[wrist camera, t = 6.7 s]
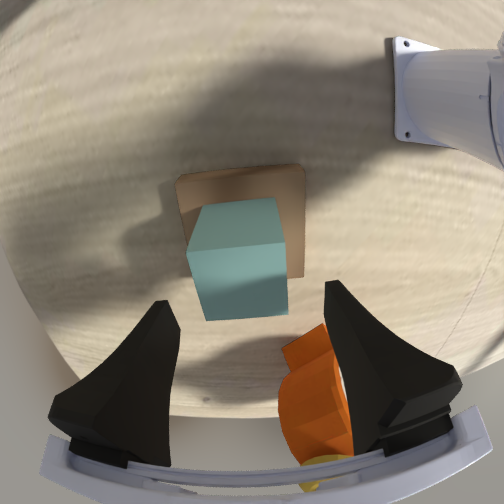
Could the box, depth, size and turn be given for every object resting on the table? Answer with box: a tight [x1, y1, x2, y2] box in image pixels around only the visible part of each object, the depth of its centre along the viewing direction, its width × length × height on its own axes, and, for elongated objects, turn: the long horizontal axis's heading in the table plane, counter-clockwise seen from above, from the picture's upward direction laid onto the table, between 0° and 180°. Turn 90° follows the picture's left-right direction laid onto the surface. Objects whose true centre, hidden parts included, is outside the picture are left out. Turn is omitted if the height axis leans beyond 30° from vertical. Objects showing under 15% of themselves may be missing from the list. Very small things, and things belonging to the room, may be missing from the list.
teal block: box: [186, 197, 288, 321], centre depth 16 cm, size 4×4×6 cm
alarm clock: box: [278, 323, 354, 492], centre depth 20 cm, size 13×6×20 cm, turn 44°
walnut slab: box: [175, 164, 305, 279], centre depth 19 cm, size 8×8×2 cm
